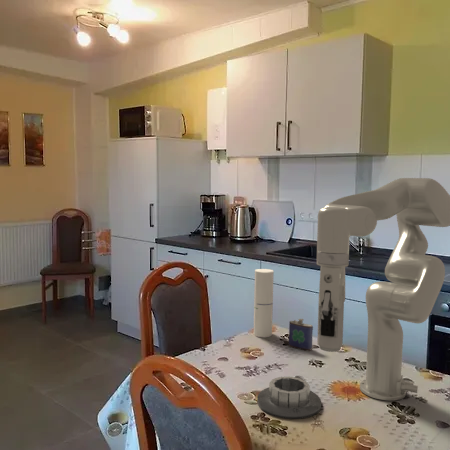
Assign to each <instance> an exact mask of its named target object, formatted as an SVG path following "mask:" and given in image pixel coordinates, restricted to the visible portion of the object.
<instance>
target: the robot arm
mask: <svg viewBox="0 0 450 450" xmlns="http://www.w3.org/2000/svg"><path fill="white" fill-rule="evenodd" d="M395 215H396V216H395ZM394 216H395V217H396V221H397V227H398V233H399V234H398V239H397V242H396V244H395V246H394V248H393V250H392V252H391V254H390V256H389V258H388V260H387V263H386V266H385V268H384V276H385V277H386V279H387V281H385V280H384V281H375V282H373V283H371V284H370V285H369V286H368V287H367V289H366V291H365V292H366V293H365V307H366V312H367V345H366V346H367V347H366V363H365V364H366V366H365V368H366V369H365V371H366V372H365V379H364V380H361V382H359V390H360V391H361V392H362V393H363V394H364V395H366V396H368V397H370V398H373V399H376V400H380V401H381V400H382V401H388V402H389V401H391V402H393V401H399V400H402V399H404V398H405V397H406V396H407V392H410V393H416V394H418V391H419V390H418V388H419V387H418V386H419V385H415V384H414V382H412V381H406V380H405V379H404V375H402V366H403V347H404V345H403V344H404V330H403V327H402V325H401V322H400V321H403V322H407V323H412V324H423V323H425V321H427V320H428V318H429V317H430V315H431V313H432V311H433V308H434V306H435V303H436V302H437V298H438V296H439V295H440V292H441V289H442V287H443V284H444V282H445V277H446V267H445V264H444V262H443V261H442V259H440V258H438V257H437V256H432V255H428V254H426V253H427V251H428V249H429V242H428V240H427V237H426V235H425V234H424V233H423V231H422V229H421V228H420V226H427V227H436V228H437V227H438V228H447V227H449V226H450V194H449V193H448V191H447V189H445V187H444V186H443V185H442V184H441V183H440V182H438V180H435V179H433V178H428V177H427V178H426V177H403V178H402V177H401V178H397V179H394V180H392V181H389V182H388V183H386V184H384V185H382V186H380V187H378V188H376V189H373V190H368V191H364V192H360V193H355V194H351V195H347V196H343V197H341V198H337V199H335V200H333V201H331V202H329V203H326V205H324V207H322V208H320V209H319V211H318V212H317V232H316V233H317V235H316V237H317V238H316V240H317V241H316V265H317V266H319V267H320V272H319V287H318V289H319V290H318V291H319V293H318V303H319V305H320V306H321V307H322V317H321V335H322V336H330V337H334V335H335V320H334V312H335V307H337V309H339V308H341V306H342V299H343V295H344V303H345V301H346V267H348V266H349V263H350V262H349V261H350V259H349V258H350V237H351V236H352V237H362V238H363V237H367V236H369V235H370V234H372V233H373V232H374V230H375V229H376V227H377V224H378V221H385V220H388V219H391V218H392V217H394ZM321 302H323V303H321ZM329 304H333V307H329ZM329 309H330V310H332V312H331V311H329Z"/></svg>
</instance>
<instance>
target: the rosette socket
mask: <svg viewBox="0 0 450 450" xmlns="http://www.w3.org/2000/svg"><path fill="white" fill-rule="evenodd" d="M310 386H311V385H310V384H309V383H308V382H307V381H306V380H304V379H302V378H300V377H295V376H279V377H276V378H275V377H274V378H273V379H271V380H270V382H269V387H265V388H263V389H262V390H261V391H260V392H258V394H257V397H256V399H257V401H256V402H257V403H256V404H257V406H258V407H259V409H260V410H262V411H263V412H265V413H266V414H268V415H270V416H272V417H277V418H280V419H286V420H301V419H306V418H307V419H308V418H310V417H313V416H315V415H317V414H318V413H320V411H321V409H322V399H321V398H320V396H319V395H318V394H316V393H315V392H314V391H312V390H310V388H311V387H310Z"/></svg>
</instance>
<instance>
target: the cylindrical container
mask: <svg viewBox="0 0 450 450" xmlns="http://www.w3.org/2000/svg"><path fill="white" fill-rule="evenodd" d="M274 273H275V271H274V270H273V269H269V268H259V269H258V268H256V269H254V290H253V291H254V294H253V295H254V296H253V298H254V300H253V336H255V337H257V338H269V337H271V336H273V316H274V315H273V310H274V309H273V308H274V307H273V304H274V303H273V302H274V276H275V275H274Z"/></svg>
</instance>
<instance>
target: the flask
mask: <svg viewBox="0 0 450 450" xmlns="http://www.w3.org/2000/svg"><path fill="white" fill-rule="evenodd" d="M297 319H298V320H296V319H294V320H290V321H289V328H288V346H289V347H291V348H293V349H298V350H302V351H306V352H307V351H308V352H312V350H313V334H314V333H313V332H314V331H313V330H314V327H313V324H308V323H303V321H304V319H303V318H297Z"/></svg>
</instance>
